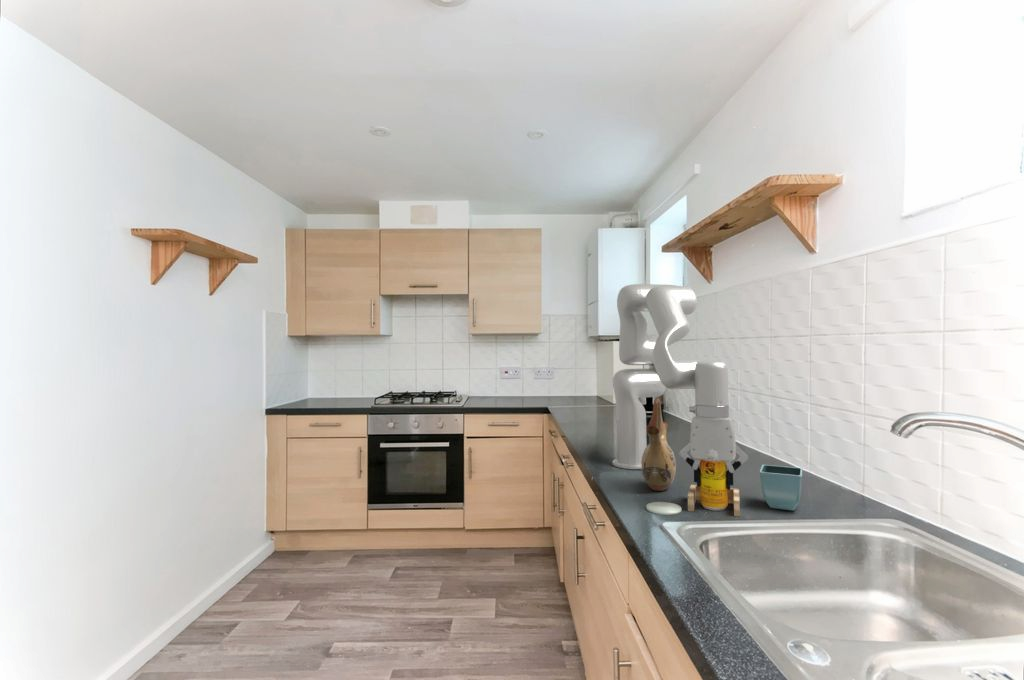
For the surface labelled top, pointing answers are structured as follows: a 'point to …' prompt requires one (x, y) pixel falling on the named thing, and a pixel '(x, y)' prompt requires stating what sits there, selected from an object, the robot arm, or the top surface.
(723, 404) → the robot arm
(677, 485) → the top surface
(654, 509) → the coaster
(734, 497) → the cradle
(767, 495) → the flower pot
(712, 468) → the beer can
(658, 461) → the ceramic vessel
